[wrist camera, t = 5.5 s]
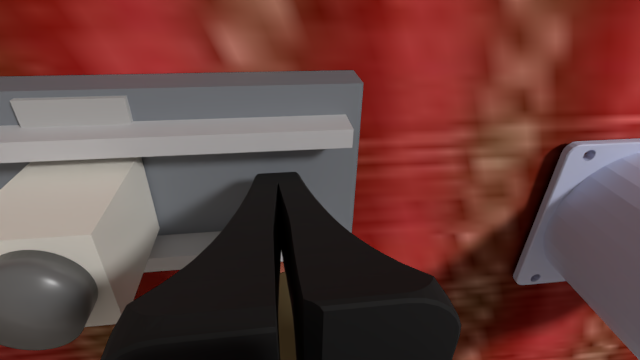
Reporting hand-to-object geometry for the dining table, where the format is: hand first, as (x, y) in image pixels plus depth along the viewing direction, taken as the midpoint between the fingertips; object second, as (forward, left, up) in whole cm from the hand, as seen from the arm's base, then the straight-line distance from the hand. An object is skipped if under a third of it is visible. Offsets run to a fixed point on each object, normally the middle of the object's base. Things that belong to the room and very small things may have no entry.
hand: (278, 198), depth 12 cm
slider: (+6, 0, -1) cm, 6 cm away
